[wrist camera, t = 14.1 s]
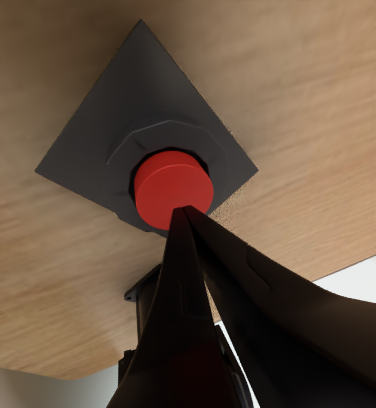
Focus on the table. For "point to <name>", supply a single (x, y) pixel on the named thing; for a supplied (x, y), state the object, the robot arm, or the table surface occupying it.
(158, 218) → the button
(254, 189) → the table surface
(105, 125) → the switch block
